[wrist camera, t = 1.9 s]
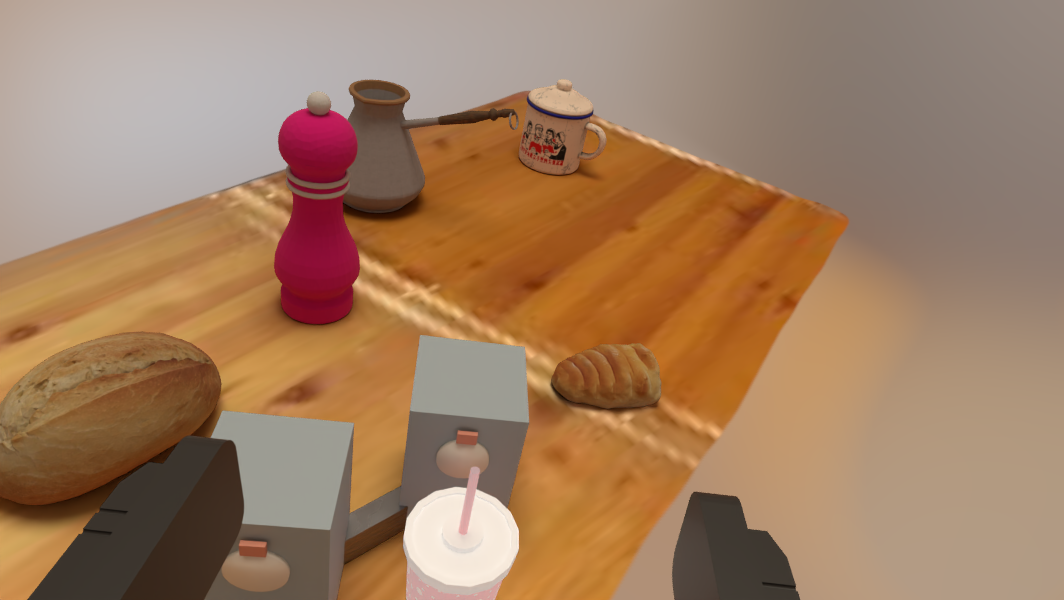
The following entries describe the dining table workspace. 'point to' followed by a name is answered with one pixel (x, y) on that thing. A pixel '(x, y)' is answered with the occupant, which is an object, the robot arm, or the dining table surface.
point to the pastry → (610, 377)
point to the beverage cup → (459, 544)
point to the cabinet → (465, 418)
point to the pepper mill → (317, 215)
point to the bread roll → (101, 413)
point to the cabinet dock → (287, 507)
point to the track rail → (374, 524)
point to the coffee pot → (391, 146)
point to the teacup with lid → (557, 129)
